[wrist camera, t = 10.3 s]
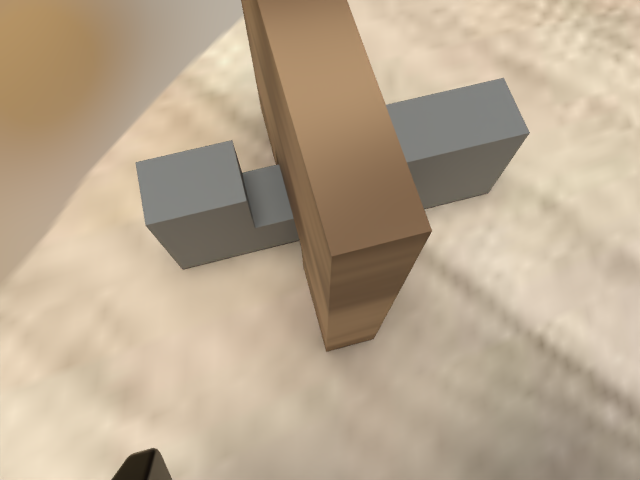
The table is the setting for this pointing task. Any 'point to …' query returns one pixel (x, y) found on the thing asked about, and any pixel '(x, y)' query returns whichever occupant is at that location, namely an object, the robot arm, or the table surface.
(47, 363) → the table surface
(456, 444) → the table surface
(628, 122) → the table surface
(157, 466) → the robot arm
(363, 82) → the walnut plate
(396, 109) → the charcoal rail
